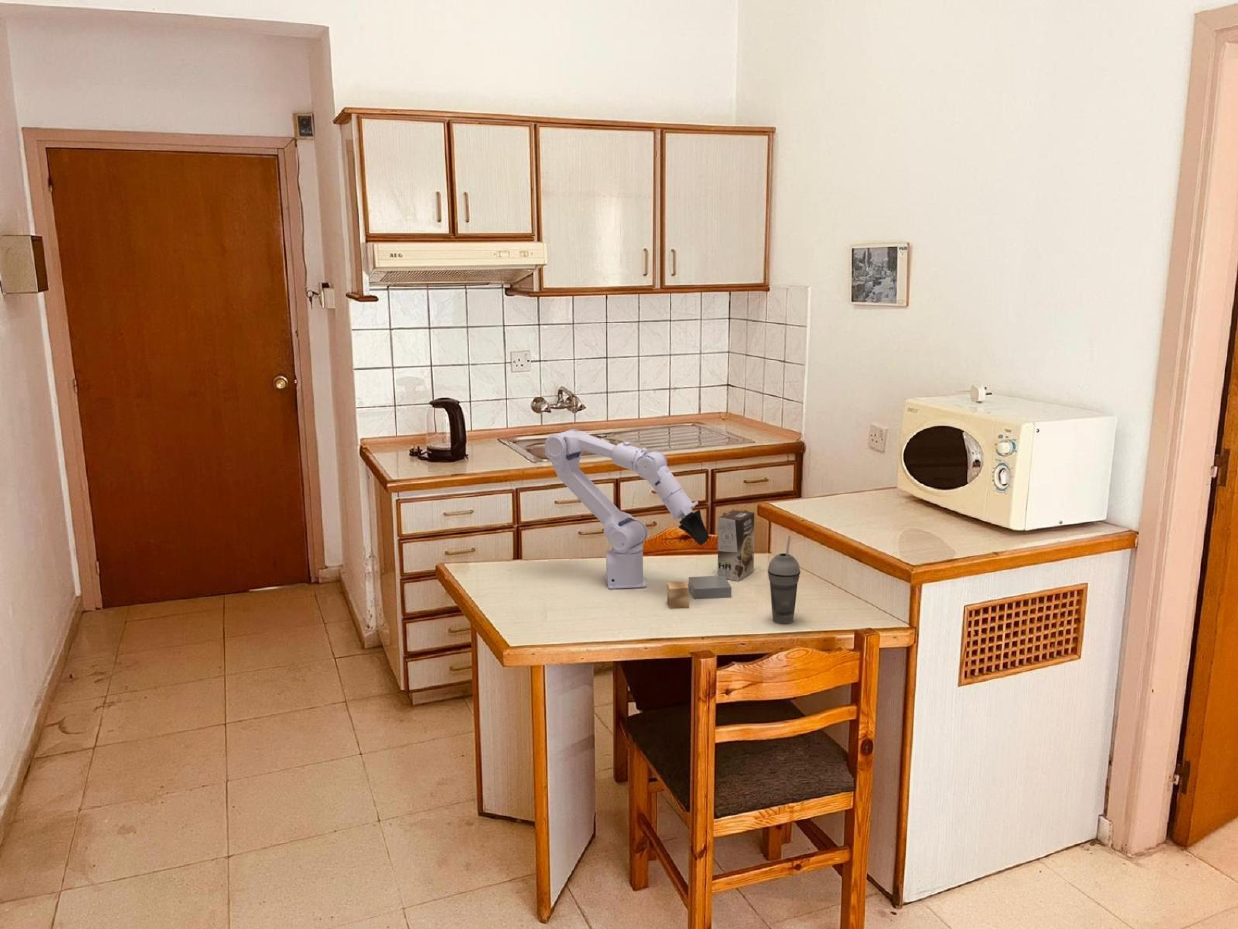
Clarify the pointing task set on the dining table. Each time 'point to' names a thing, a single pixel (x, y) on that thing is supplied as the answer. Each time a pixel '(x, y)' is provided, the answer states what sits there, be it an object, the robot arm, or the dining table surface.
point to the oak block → (677, 595)
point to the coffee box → (736, 544)
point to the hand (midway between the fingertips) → (705, 542)
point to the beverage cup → (783, 586)
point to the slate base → (709, 587)
